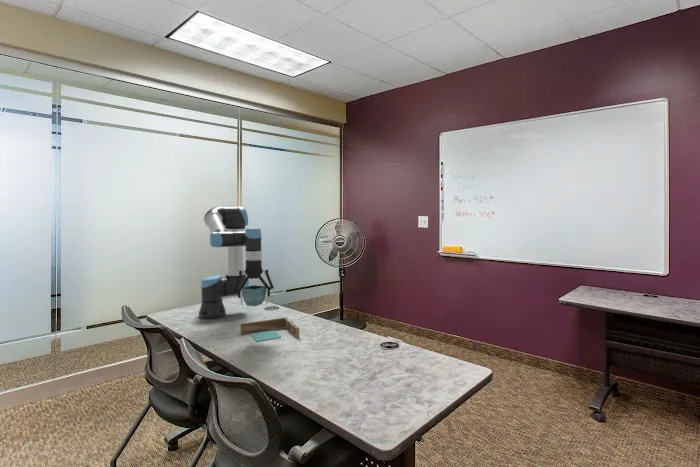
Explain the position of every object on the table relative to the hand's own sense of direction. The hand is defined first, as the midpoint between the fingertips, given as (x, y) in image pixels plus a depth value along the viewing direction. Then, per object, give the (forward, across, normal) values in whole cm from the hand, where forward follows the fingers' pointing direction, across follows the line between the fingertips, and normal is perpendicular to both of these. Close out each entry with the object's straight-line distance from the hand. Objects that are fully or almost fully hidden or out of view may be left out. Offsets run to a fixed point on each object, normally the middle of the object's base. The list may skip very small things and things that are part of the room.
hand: (254, 303), depth 179 cm
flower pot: (+1, 0, 0) cm, 1 cm away
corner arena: (+17, +7, +1) cm, 18 cm away
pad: (+17, +5, 0) cm, 17 cm away
